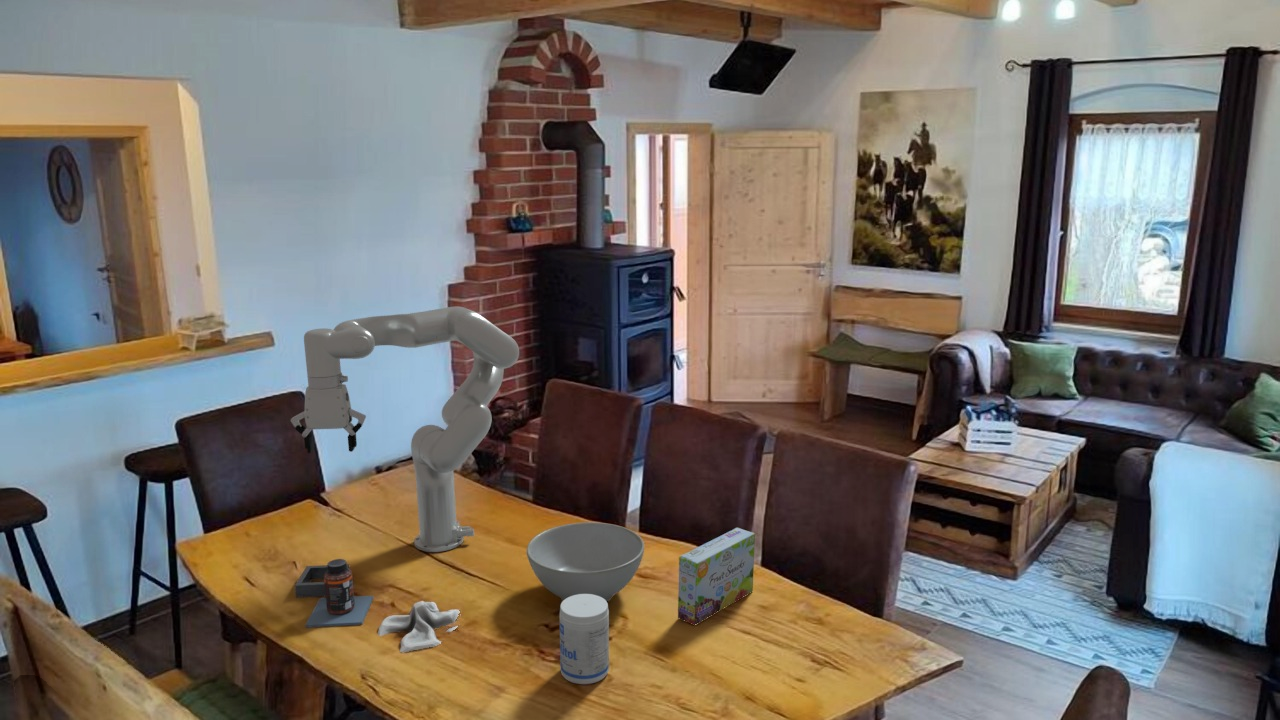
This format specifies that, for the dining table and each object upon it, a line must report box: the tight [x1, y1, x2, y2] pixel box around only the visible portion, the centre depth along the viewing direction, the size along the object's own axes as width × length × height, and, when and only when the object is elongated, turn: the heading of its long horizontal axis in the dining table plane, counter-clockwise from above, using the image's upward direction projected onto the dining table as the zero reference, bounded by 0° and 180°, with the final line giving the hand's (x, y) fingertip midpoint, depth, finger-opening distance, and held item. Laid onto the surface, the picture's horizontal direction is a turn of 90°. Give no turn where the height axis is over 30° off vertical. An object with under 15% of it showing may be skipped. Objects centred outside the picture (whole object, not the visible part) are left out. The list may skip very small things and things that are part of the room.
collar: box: [294, 563, 351, 599], centre depth 214 cm, size 10×10×3 cm
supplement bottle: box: [323, 558, 355, 615], centre depth 202 cm, size 6×6×11 cm
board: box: [304, 595, 374, 628], centre depth 203 cm, size 12×12×1 cm
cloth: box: [377, 600, 460, 654], centre depth 197 cm, size 22×19×6 cm
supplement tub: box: [559, 594, 610, 685], centre depth 177 cm, size 10×10×15 cm
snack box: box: [677, 527, 756, 625], centre depth 202 cm, size 21×6×15 cm, turn 137°
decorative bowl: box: [526, 521, 645, 602], centre depth 208 cm, size 27×27×12 cm
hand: (331, 450), depth 218 cm, fingers open, 9 cm apart
